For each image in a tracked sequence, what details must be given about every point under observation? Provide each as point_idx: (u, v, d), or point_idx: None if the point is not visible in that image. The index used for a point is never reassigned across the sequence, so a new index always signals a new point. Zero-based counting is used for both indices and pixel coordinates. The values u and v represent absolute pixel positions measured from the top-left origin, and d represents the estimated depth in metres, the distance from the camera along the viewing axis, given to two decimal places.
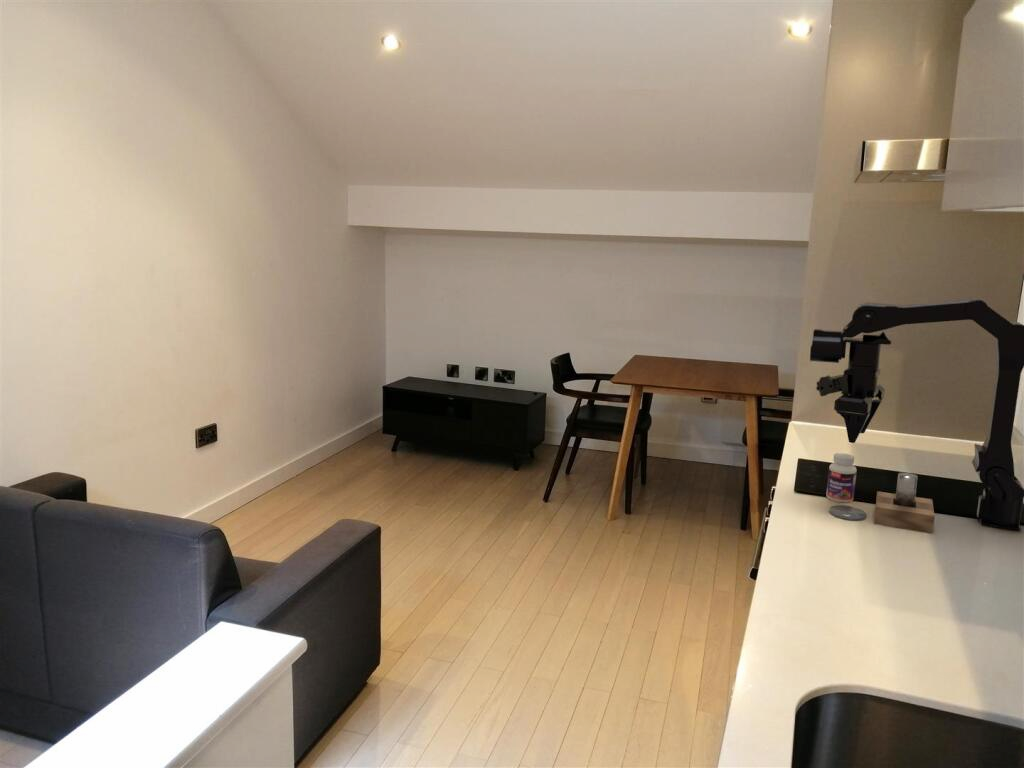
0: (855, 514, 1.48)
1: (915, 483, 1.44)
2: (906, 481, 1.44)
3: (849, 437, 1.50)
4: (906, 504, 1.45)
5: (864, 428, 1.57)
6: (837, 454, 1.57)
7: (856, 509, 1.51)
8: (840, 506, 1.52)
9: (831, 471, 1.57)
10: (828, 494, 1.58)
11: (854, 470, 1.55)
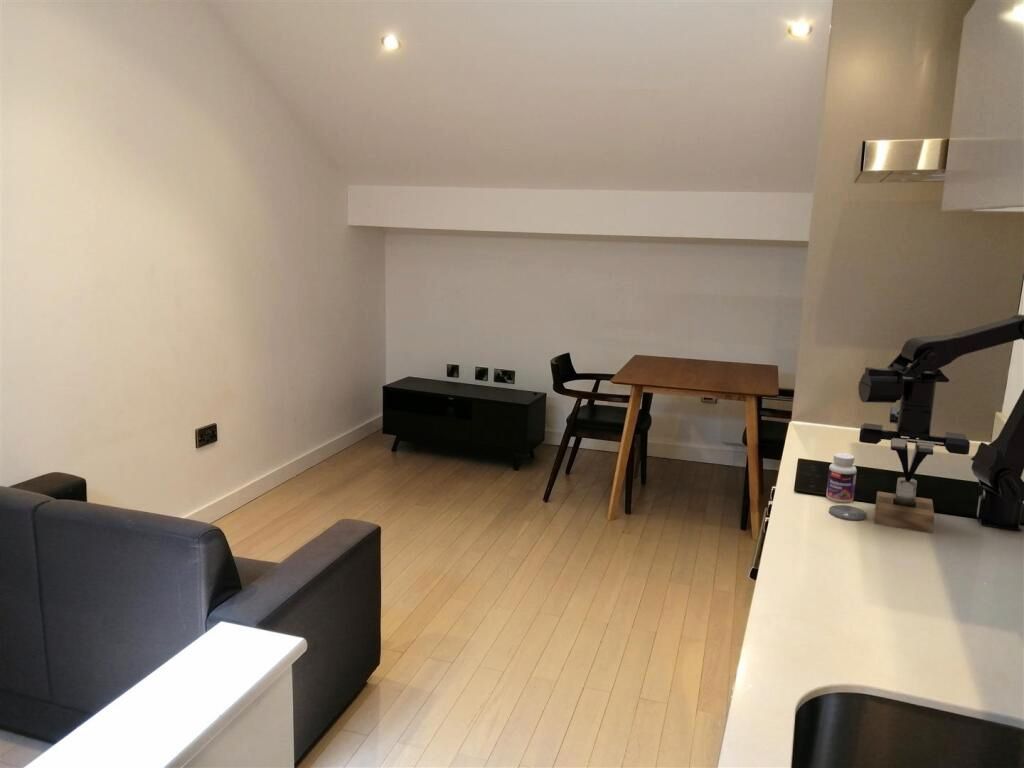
0: (855, 514, 1.48)
1: (914, 488, 1.44)
2: (906, 486, 1.44)
3: None
4: None
5: None
6: (837, 454, 1.57)
7: (856, 509, 1.51)
8: (840, 506, 1.52)
9: (831, 471, 1.57)
10: (828, 494, 1.58)
11: (854, 470, 1.55)
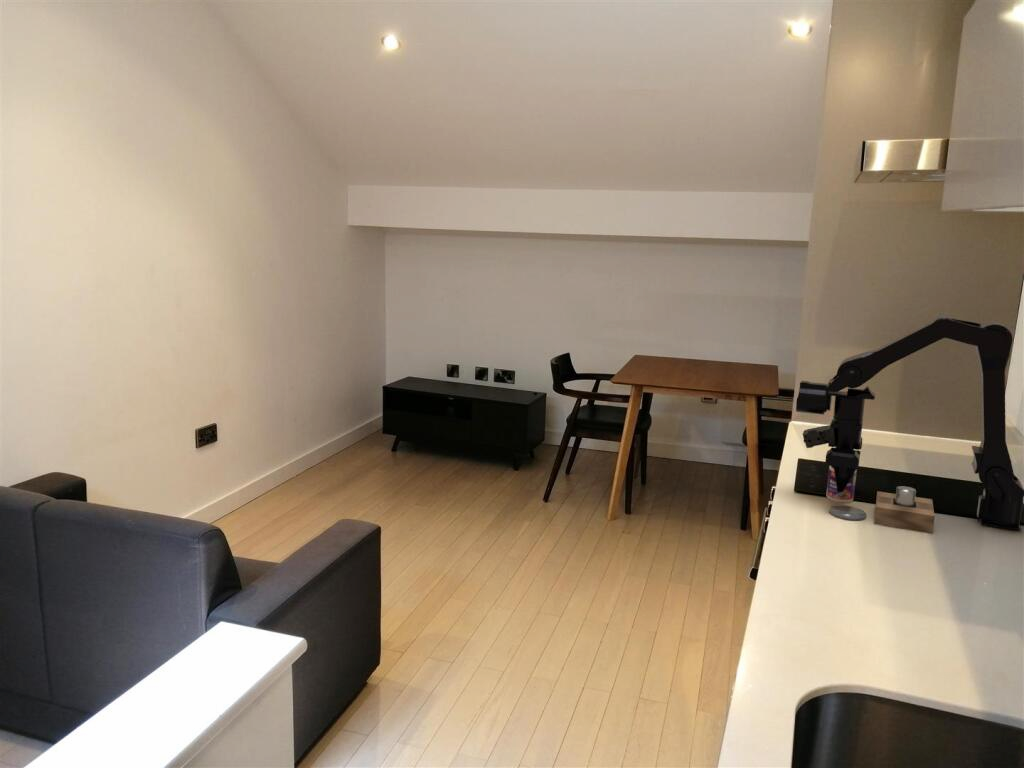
0: (855, 514, 1.48)
1: (913, 497, 1.45)
2: (905, 495, 1.45)
3: (838, 486, 1.55)
4: None
5: None
6: None
7: (856, 509, 1.51)
8: (840, 506, 1.52)
9: (831, 471, 1.57)
10: (828, 494, 1.58)
11: None
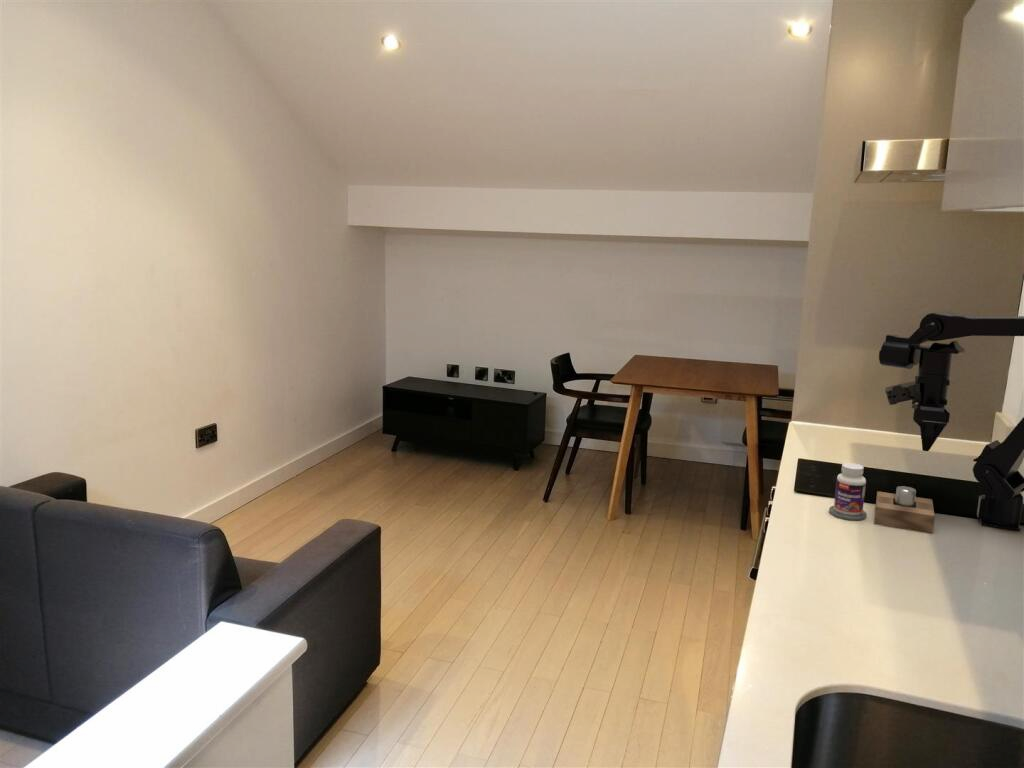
0: None
1: (913, 497, 1.45)
2: (905, 495, 1.45)
3: (923, 445, 1.50)
4: None
5: None
6: (845, 464, 1.48)
7: None
8: None
9: (839, 482, 1.48)
10: (836, 506, 1.49)
11: (863, 481, 1.46)
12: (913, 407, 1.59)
